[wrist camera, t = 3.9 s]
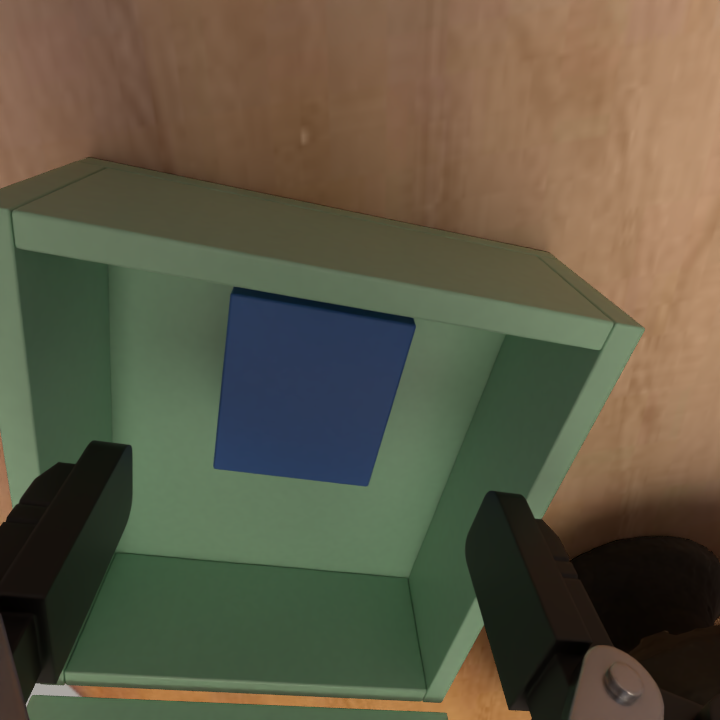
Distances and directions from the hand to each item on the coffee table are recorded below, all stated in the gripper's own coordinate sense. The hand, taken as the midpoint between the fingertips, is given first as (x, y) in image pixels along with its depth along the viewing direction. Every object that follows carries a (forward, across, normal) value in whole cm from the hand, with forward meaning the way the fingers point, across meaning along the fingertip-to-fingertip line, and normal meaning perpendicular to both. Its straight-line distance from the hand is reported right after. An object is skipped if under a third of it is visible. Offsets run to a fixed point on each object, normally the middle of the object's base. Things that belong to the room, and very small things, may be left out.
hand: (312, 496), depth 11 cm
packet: (+7, 0, 0) cm, 7 cm away
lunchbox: (+8, 0, +4) cm, 8 cm away
